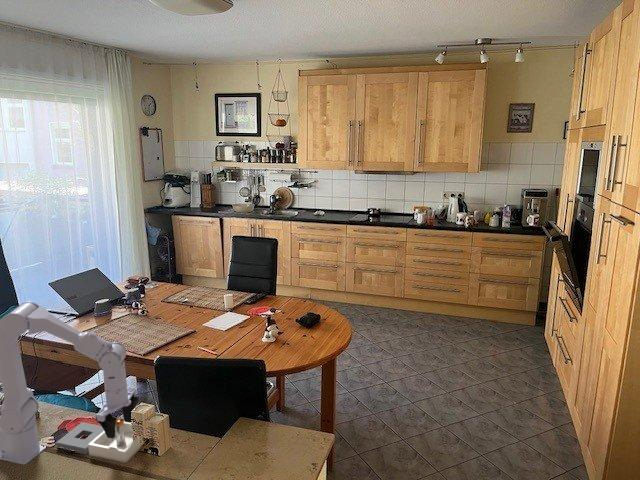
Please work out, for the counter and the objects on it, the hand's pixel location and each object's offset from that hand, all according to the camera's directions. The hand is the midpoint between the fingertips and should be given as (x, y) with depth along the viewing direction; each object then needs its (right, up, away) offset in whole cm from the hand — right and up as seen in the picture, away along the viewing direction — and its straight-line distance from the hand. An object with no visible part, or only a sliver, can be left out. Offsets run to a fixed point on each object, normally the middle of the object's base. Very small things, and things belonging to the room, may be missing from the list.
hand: (119, 429), depth 134 cm
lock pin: (0, -5, +1) cm, 5 cm away
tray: (0, -5, +1) cm, 5 cm away
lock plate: (-12, -5, +3) cm, 13 cm away
